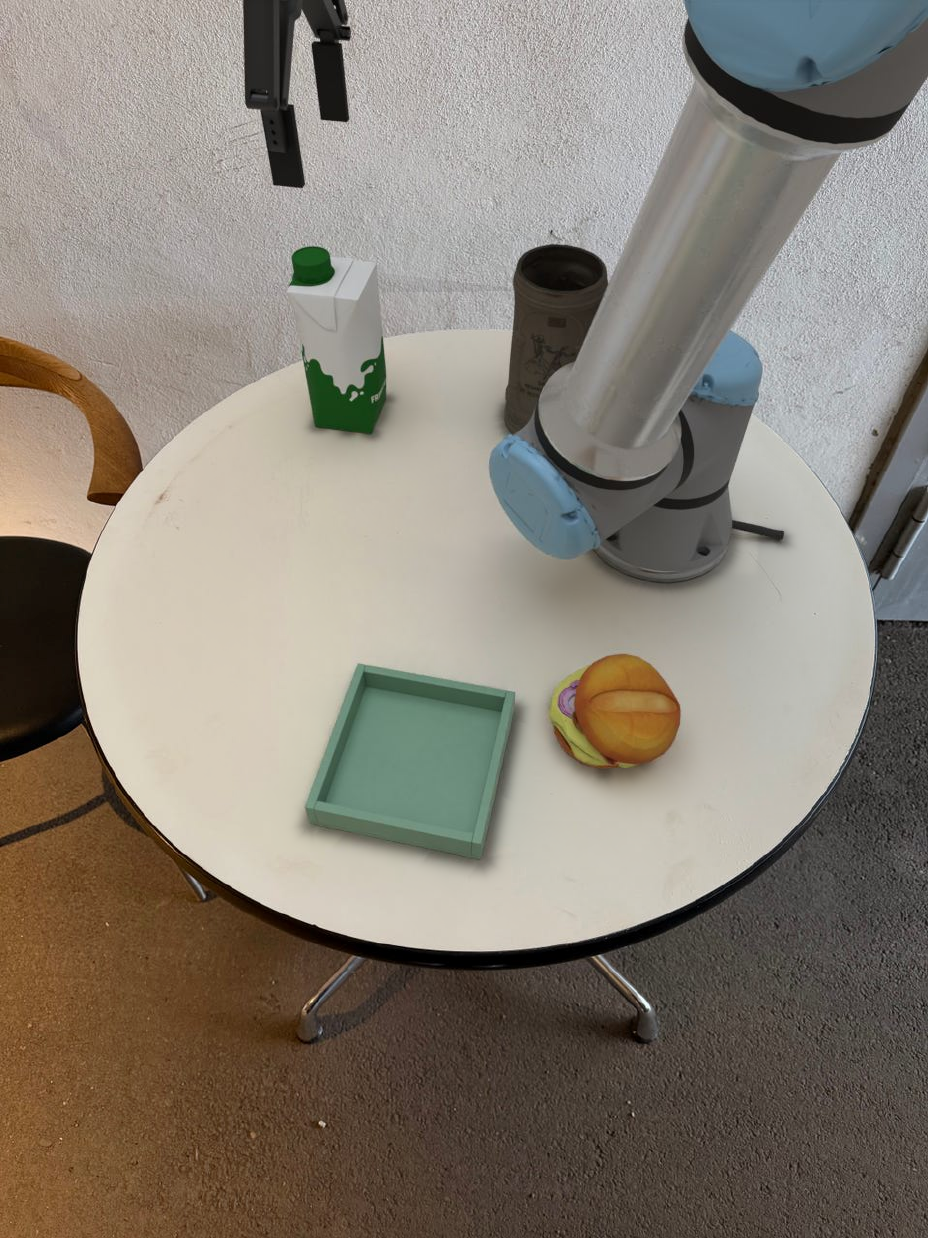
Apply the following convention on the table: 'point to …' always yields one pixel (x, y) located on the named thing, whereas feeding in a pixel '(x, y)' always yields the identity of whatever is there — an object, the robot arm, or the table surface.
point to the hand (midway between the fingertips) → (313, 150)
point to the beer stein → (549, 320)
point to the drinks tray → (414, 760)
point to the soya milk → (339, 338)
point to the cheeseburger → (615, 713)
